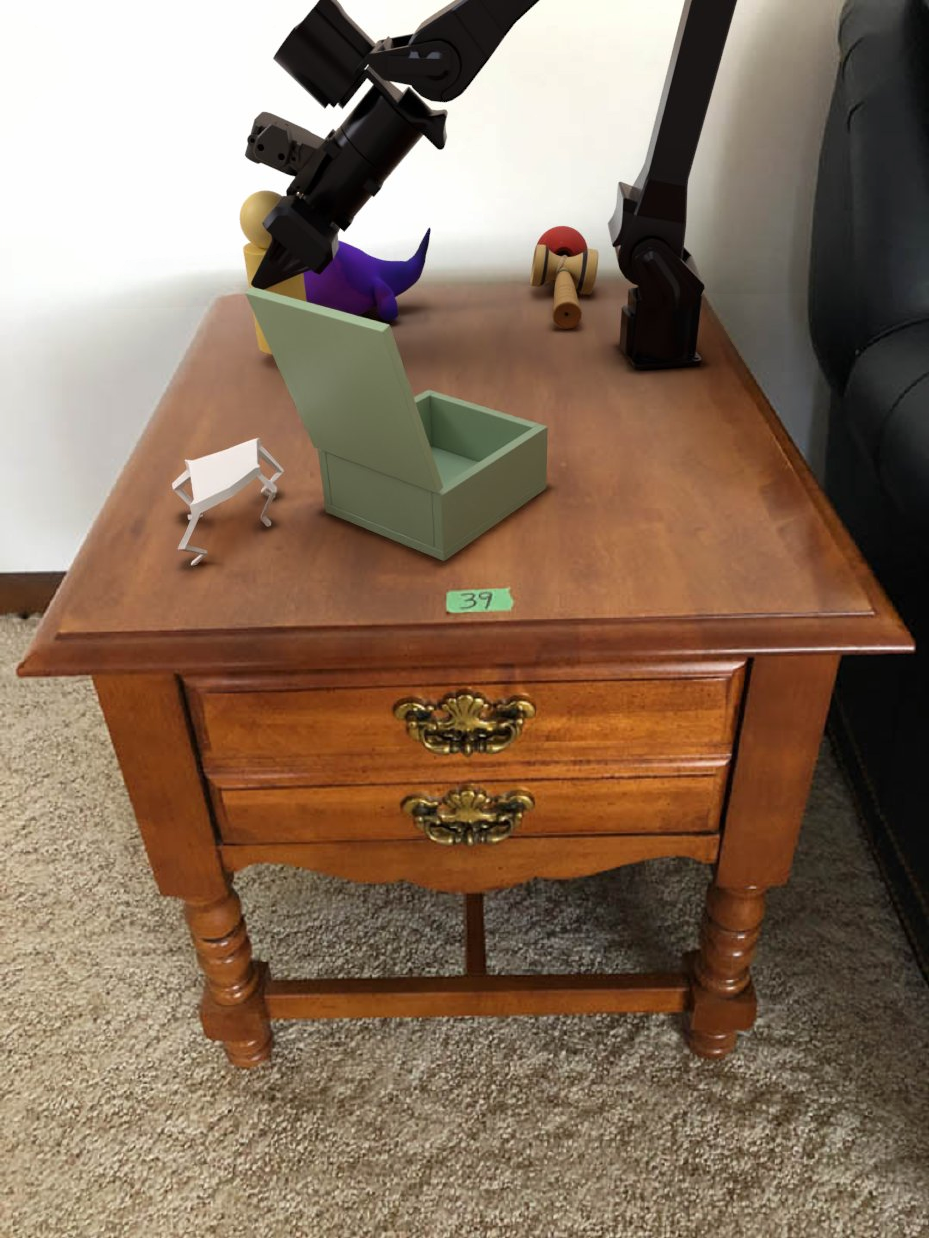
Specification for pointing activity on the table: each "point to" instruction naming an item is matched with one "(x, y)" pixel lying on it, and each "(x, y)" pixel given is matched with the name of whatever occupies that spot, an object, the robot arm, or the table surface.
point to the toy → (364, 281)
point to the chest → (445, 478)
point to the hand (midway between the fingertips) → (261, 277)
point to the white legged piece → (223, 482)
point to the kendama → (565, 271)
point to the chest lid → (348, 386)
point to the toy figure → (264, 250)
